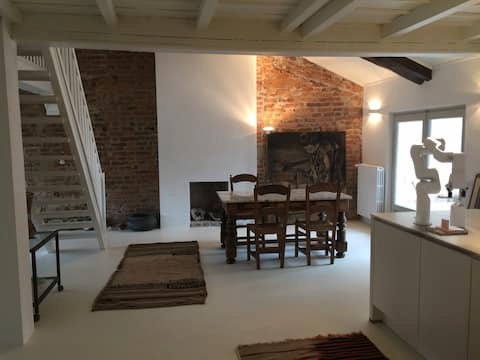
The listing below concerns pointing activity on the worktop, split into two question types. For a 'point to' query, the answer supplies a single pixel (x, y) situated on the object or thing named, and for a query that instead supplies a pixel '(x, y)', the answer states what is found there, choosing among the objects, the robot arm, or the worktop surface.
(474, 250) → the worktop surface
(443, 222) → the stub
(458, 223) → the milk carton
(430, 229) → the board
